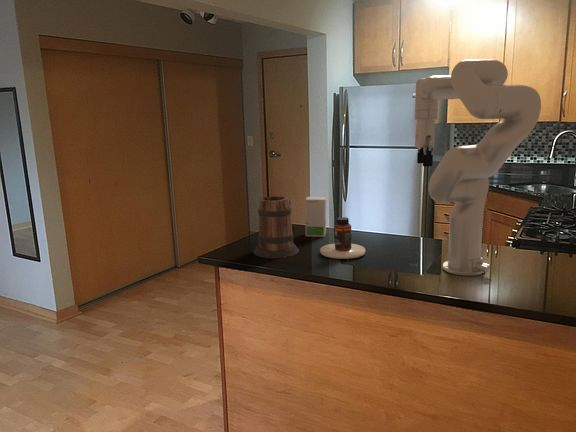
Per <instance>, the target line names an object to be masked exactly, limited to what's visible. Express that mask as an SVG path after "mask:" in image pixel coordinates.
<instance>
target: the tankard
mask: <svg viewBox="0 0 576 432" xmlns="http://www.w3.org/2000/svg"><path fill="white" fill-rule="evenodd" d="M258 205H259V206H258V207H259V208H258V210H257V213H258V234H257V240H258V244H257V245H256V247H255V249H254V250H253V254H254V255H255V256H257V257H259V258H265V259H280V258H281V257H283V258H288V257H287V256H289V257H292V256H295V255H297V254H298V253H299V251H300V249H299V248H298V247H297V245H296V244H295V243H294V233H295V227H294V225H292V207H291V201H290V198H289V197H286V196H284V195H283V196H282V195H275V196H262V197H260V198H259V204H258ZM281 259H282V258H281Z"/></svg>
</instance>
